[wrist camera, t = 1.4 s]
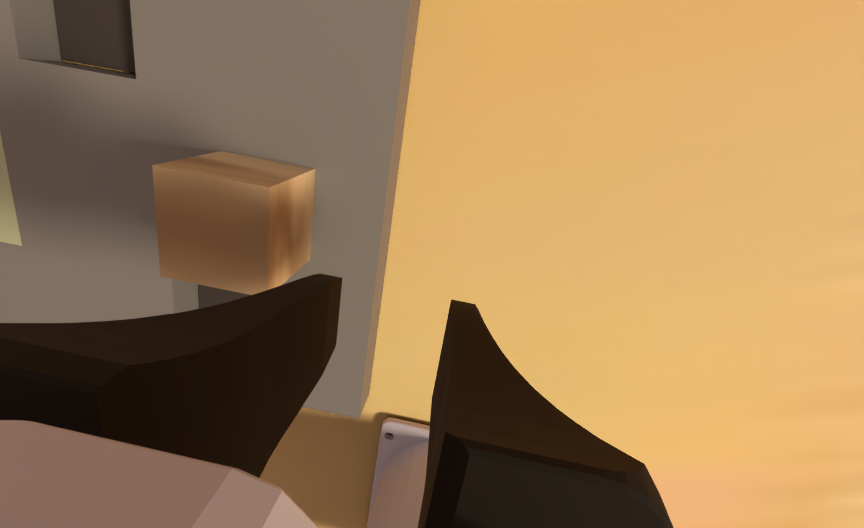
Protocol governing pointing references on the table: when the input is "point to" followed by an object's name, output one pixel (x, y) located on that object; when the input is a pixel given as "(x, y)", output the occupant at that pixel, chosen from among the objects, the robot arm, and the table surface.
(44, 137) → the trap board
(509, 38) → the table surface
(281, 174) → the maple block
